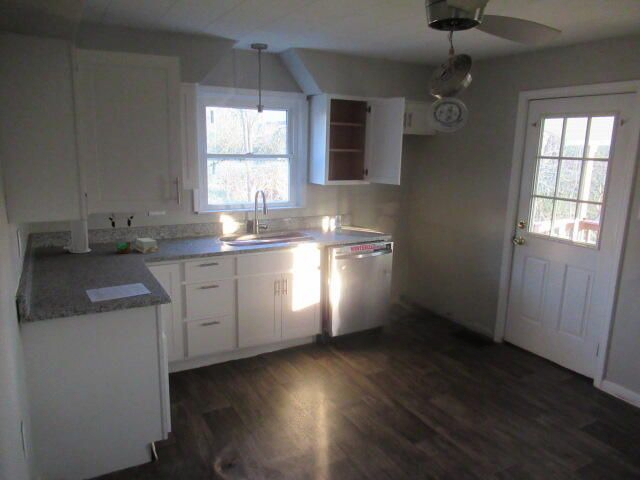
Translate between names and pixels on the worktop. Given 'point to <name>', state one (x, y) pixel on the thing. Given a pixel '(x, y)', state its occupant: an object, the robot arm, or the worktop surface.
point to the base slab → (147, 249)
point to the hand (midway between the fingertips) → (121, 226)
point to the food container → (123, 245)
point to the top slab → (146, 242)
